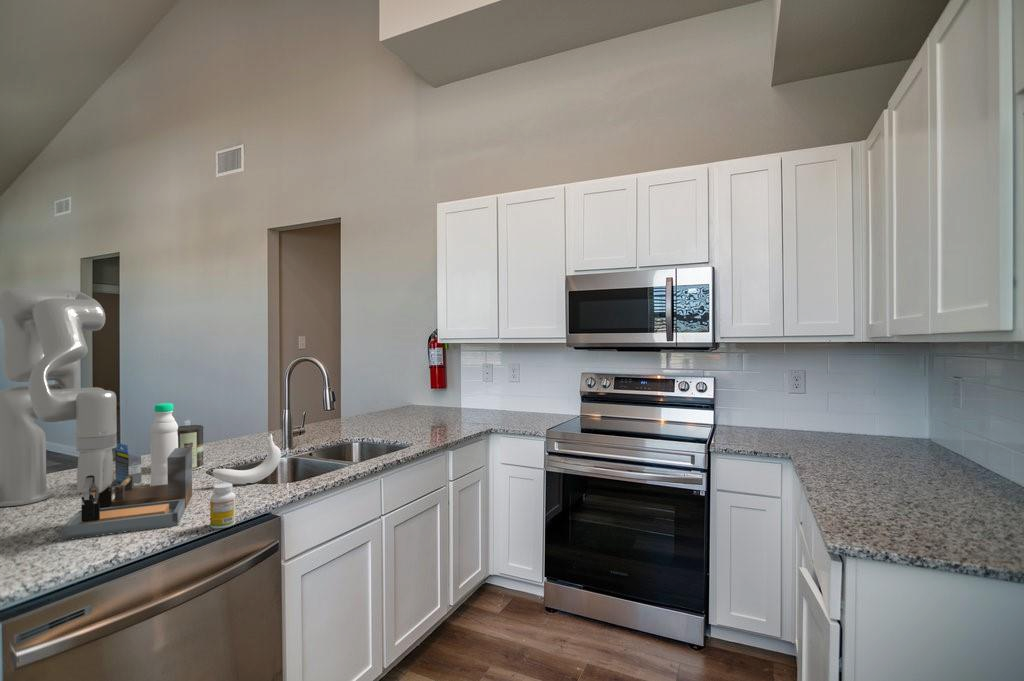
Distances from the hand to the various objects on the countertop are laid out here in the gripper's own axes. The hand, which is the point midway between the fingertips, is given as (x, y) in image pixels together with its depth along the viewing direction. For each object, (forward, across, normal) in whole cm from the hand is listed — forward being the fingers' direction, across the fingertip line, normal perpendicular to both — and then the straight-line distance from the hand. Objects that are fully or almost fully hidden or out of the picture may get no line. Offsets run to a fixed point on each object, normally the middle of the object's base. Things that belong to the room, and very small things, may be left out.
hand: (97, 514), depth 123 cm
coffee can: (+4, -54, +11) cm, 55 cm away
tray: (+3, 0, +6) cm, 7 cm away
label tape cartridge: (+4, -43, -3) cm, 43 cm away
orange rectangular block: (+2, 0, +6) cm, 6 cm away
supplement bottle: (+4, +10, +27) cm, 29 cm away
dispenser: (+3, -13, +9) cm, 16 cm away
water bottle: (+4, -34, +8) cm, 35 cm away
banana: (+4, -26, +31) cm, 41 cm away
